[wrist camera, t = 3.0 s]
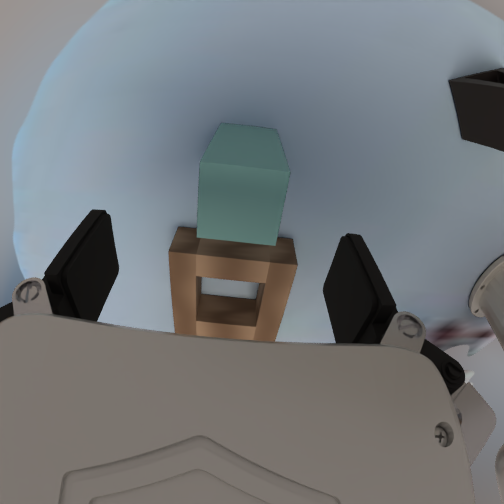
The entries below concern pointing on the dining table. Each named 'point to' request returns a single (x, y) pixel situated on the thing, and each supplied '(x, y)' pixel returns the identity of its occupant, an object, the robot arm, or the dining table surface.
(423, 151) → the dining table surface
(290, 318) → the dining table surface
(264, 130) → the square peg
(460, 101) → the phone stand
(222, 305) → the wooden frame
